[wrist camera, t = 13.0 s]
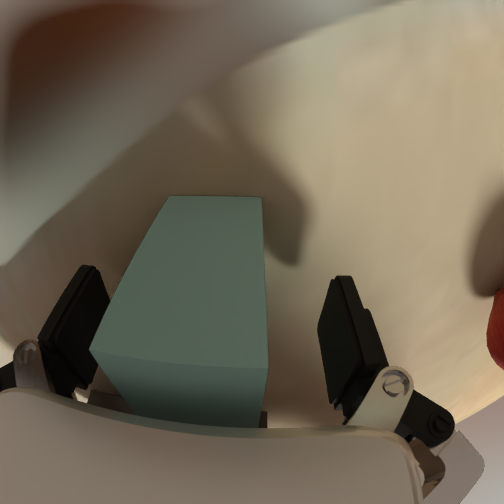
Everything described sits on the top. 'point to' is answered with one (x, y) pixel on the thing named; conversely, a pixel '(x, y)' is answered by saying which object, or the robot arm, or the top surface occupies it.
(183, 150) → the top surface
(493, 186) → the top surface
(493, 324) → the onion
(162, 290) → the sage green block
